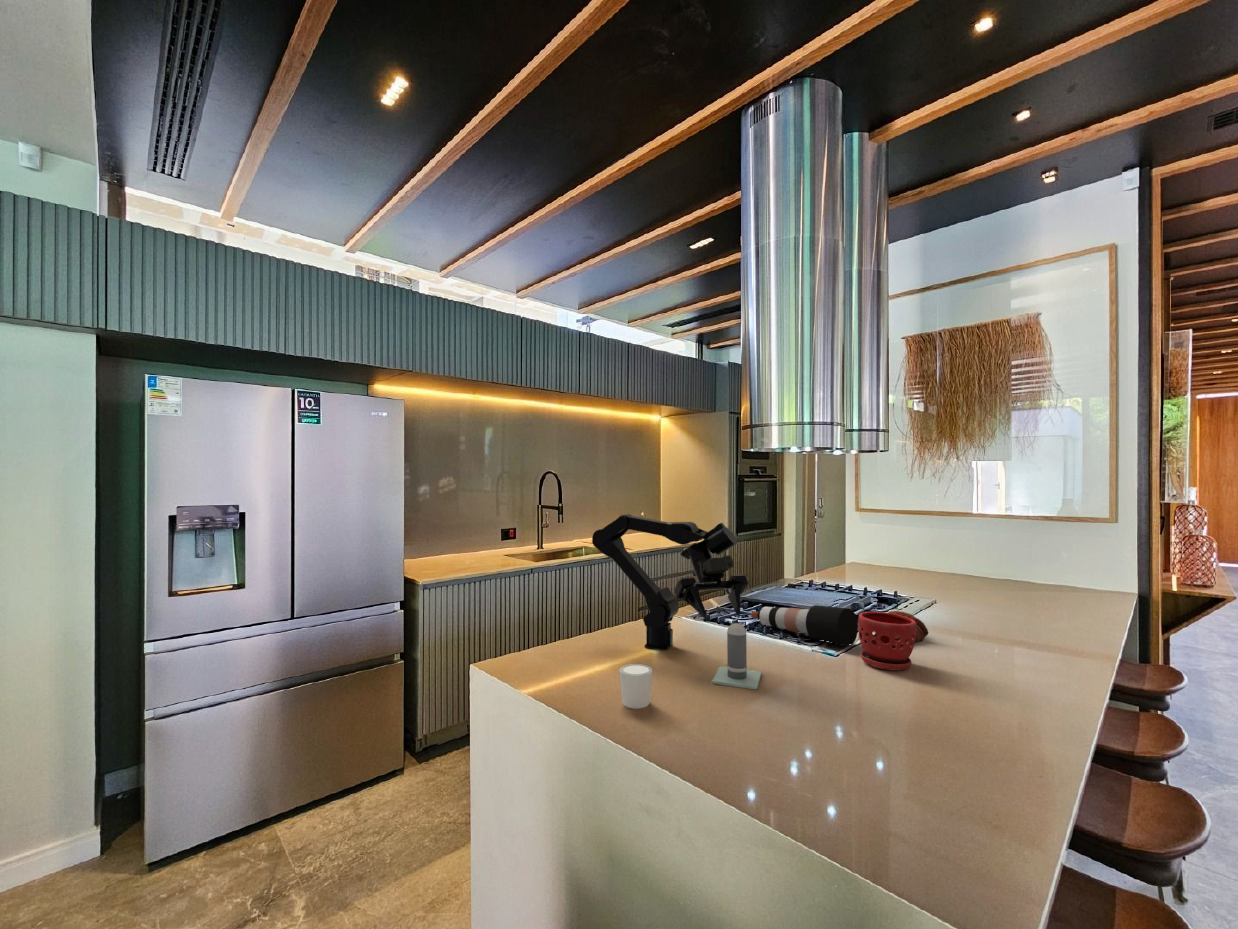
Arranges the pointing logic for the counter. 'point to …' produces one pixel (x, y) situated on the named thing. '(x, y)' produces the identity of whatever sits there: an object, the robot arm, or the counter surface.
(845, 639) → the striped bottle
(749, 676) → the coaster
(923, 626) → the pastry
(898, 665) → the plant pot
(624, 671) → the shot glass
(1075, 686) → the counter surface
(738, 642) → the cylinder
